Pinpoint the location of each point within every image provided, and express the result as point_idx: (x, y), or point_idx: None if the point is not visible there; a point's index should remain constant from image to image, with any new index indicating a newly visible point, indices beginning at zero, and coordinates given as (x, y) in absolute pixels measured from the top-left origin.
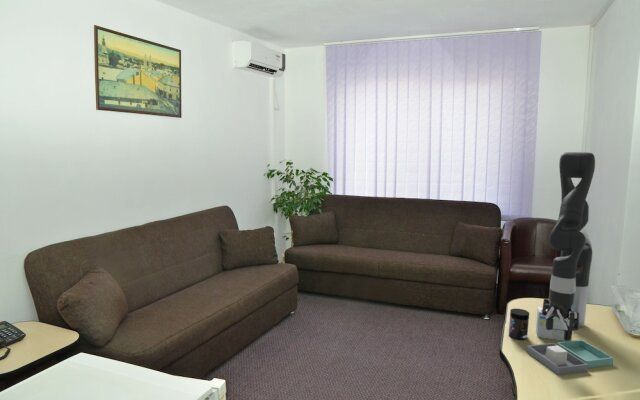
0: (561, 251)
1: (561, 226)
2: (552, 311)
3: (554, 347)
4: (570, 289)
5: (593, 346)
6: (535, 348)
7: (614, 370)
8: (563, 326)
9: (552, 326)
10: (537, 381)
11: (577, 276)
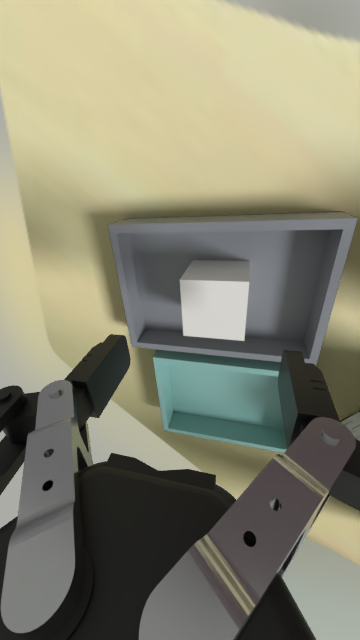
0: None
1: None
2: (198, 542)
3: (230, 312)
4: None
5: (238, 443)
6: (328, 263)
7: (151, 397)
8: None
9: (279, 396)
10: (90, 83)
11: None
